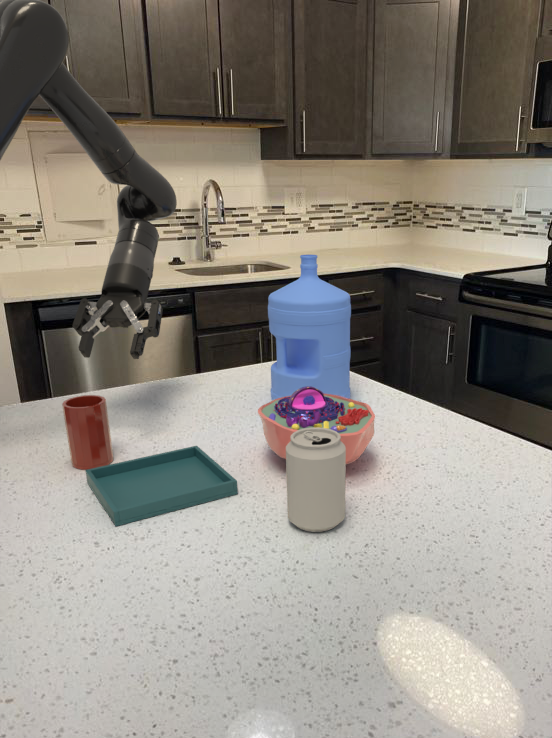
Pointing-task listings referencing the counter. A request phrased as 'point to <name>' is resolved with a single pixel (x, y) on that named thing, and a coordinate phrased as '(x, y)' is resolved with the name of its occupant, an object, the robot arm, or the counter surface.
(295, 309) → the water jug
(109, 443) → the cup
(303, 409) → the cell model
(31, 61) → the robot arm
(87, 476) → the rectangular tray
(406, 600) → the counter surface
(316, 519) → the can
